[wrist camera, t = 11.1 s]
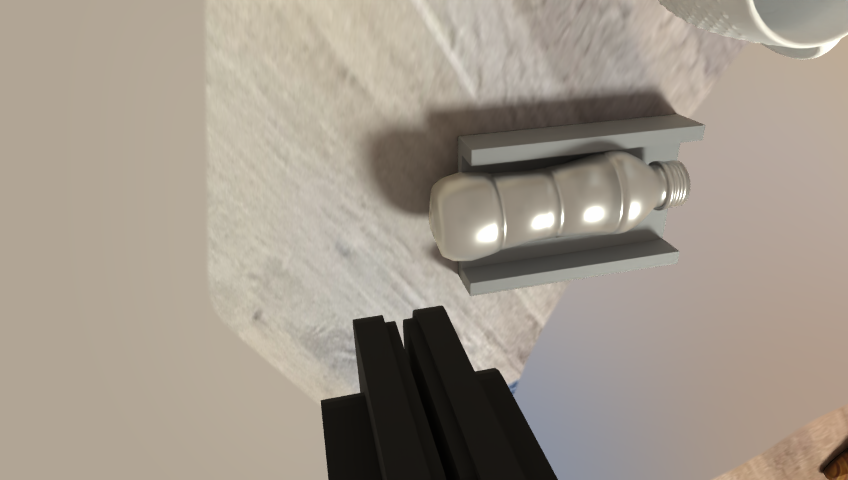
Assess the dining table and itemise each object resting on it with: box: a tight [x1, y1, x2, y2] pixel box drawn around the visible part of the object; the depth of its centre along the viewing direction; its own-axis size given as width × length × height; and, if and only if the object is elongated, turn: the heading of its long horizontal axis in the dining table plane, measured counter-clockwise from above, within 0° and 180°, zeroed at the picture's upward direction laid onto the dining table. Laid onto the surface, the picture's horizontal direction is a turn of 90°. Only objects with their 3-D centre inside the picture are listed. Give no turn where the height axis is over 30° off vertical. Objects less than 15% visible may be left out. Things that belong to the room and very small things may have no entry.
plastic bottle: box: [429, 150, 690, 261], centre depth 43 cm, size 6×7×20 cm
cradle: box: [458, 114, 705, 296], centre depth 46 cm, size 12×19×4 cm, turn 92°
